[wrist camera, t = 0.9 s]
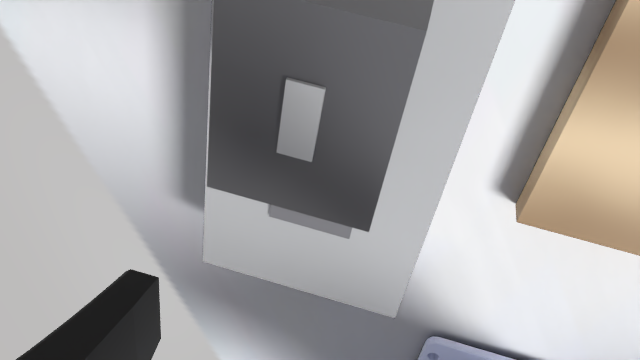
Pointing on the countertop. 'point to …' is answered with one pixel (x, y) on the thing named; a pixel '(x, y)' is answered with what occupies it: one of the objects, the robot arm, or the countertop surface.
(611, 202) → the oak board
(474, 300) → the countertop surface
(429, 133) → the power strip
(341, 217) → the block
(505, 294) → the countertop surface
